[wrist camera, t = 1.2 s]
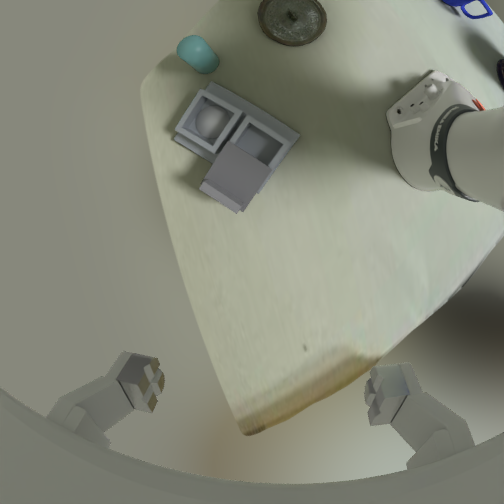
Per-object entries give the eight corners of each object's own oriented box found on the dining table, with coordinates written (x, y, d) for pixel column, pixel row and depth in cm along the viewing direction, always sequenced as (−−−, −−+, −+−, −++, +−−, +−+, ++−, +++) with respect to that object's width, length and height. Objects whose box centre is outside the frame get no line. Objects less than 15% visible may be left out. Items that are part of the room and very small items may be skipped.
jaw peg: (203, 49, 33) (187, 31, 26) (223, 58, 34) (211, 41, 27) (190, 67, 35) (171, 54, 28) (209, 77, 35) (194, 64, 28)
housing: (176, 139, 40) (165, 139, 36) (213, 82, 36) (205, 76, 32) (259, 192, 42) (256, 197, 38) (299, 135, 38) (301, 134, 34)
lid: (325, 5, 28) (329, -9, 23) (323, 50, 32) (328, 39, 27) (261, -2, 29) (258, -16, 24) (256, 43, 33) (252, 31, 28)
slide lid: (202, 183, 38) (195, 186, 35) (229, 140, 35) (224, 140, 32) (243, 210, 38) (240, 216, 35) (272, 169, 36) (271, 171, 33)
